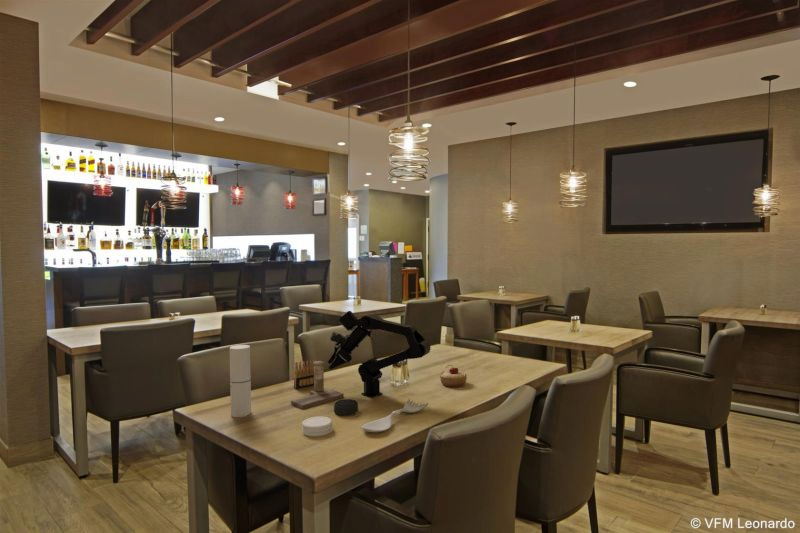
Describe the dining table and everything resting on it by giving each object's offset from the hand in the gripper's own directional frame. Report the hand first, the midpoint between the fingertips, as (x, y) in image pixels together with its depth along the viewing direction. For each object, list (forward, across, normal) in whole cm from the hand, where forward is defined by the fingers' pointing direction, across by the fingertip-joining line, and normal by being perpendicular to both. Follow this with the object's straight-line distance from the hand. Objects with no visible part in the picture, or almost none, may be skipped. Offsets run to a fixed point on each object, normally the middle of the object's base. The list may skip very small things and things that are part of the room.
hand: (328, 365), depth 198 cm
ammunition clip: (+16, -14, +2) cm, 21 cm away
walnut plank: (+12, +8, +5) cm, 15 cm away
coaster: (+13, +38, +5) cm, 41 cm away
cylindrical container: (+32, +16, -15) cm, 39 cm away
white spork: (-6, +34, +24) cm, 43 cm away
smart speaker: (+5, +22, +13) cm, 26 cm away
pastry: (-30, -4, +48) cm, 57 cm away
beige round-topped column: (+11, 0, +6) cm, 13 cm away
